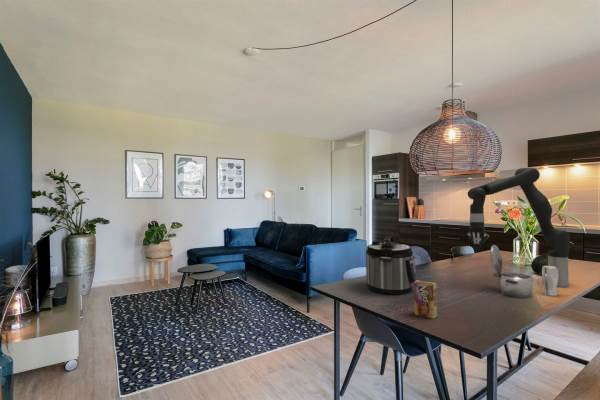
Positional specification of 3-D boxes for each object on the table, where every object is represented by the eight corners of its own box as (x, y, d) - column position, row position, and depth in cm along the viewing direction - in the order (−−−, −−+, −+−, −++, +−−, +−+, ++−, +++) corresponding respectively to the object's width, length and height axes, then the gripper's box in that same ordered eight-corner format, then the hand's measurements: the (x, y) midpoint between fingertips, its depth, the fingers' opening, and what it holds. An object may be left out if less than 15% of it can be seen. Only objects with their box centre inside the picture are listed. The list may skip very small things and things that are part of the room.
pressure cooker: (392, 299, 163) (391, 240, 163) (355, 287, 186) (354, 235, 186) (426, 290, 179) (425, 235, 179) (388, 280, 203) (387, 232, 203)
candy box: (437, 316, 139) (436, 282, 139) (434, 319, 136) (433, 284, 136) (418, 311, 145) (417, 279, 145) (414, 314, 142) (413, 281, 142)
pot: (500, 286, 183) (499, 269, 183) (535, 292, 170) (535, 274, 170) (489, 293, 170) (489, 275, 170) (527, 300, 157) (527, 280, 157)
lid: (504, 270, 179) (501, 270, 180) (498, 243, 181) (495, 243, 183) (496, 275, 169) (492, 275, 170) (490, 246, 171) (486, 246, 173)
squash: (530, 267, 206) (547, 251, 203) (523, 264, 220) (540, 249, 217) (550, 283, 202) (568, 267, 198) (542, 278, 216) (559, 263, 212)
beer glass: (552, 297, 162) (551, 268, 162) (539, 293, 169) (538, 266, 169) (562, 295, 164) (561, 267, 164) (548, 292, 171) (548, 265, 171)
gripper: (491, 221, 181) (492, 250, 180) (467, 220, 190) (467, 248, 190) (487, 221, 176) (487, 252, 175) (462, 221, 185) (463, 249, 185)
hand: (477, 249), depth 183 cm, fingers closed
